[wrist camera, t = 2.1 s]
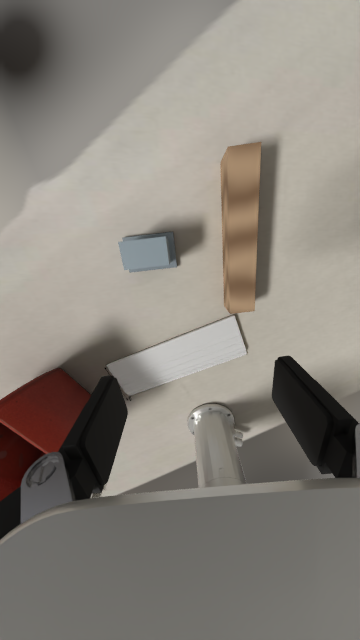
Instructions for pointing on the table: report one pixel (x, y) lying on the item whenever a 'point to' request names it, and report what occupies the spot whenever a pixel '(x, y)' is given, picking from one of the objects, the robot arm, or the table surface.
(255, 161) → the walnut rod
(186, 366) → the baseboard molding
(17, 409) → the plant pot
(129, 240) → the slate ridge
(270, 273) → the table surface
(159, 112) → the table surface
